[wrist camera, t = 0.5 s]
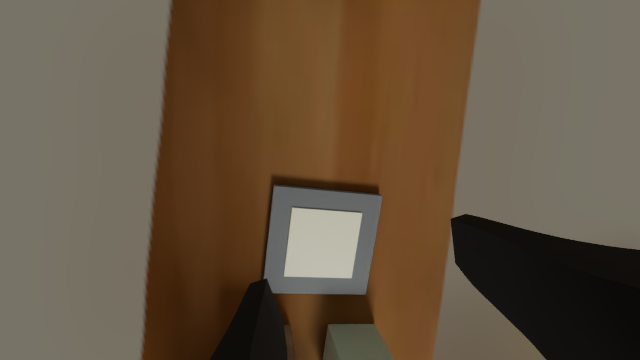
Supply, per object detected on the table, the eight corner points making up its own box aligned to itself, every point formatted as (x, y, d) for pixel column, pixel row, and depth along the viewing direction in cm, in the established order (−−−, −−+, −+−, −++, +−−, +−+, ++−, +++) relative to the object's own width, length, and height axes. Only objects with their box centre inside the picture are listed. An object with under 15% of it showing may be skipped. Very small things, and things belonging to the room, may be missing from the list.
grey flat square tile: (363, 290, 24) (366, 295, 23) (262, 288, 22) (262, 293, 22) (379, 194, 23) (383, 196, 22) (273, 184, 21) (274, 186, 20)
